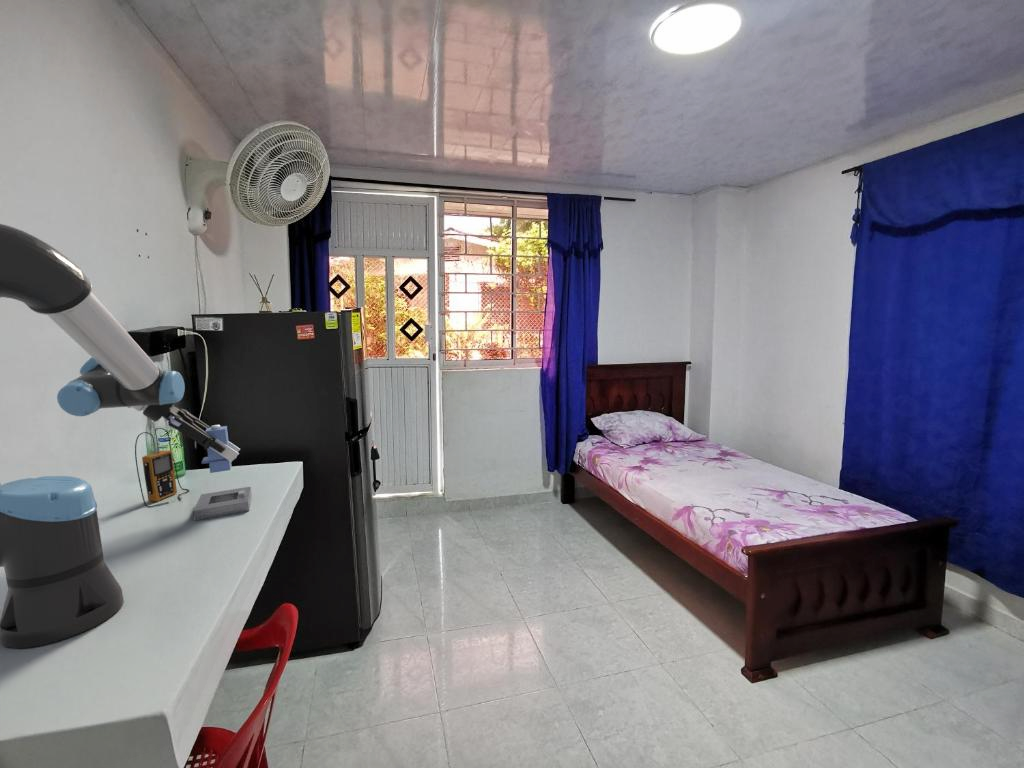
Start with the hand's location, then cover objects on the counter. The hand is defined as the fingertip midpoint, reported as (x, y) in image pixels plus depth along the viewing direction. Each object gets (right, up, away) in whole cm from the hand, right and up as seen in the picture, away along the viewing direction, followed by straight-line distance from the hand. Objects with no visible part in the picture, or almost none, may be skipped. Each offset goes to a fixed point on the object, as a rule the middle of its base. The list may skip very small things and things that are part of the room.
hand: (235, 455), depth 132 cm
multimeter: (-23, -14, +9) cm, 28 cm away
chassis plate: (-3, -14, 0) cm, 14 cm away
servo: (-3, -4, -1) cm, 5 cm away
